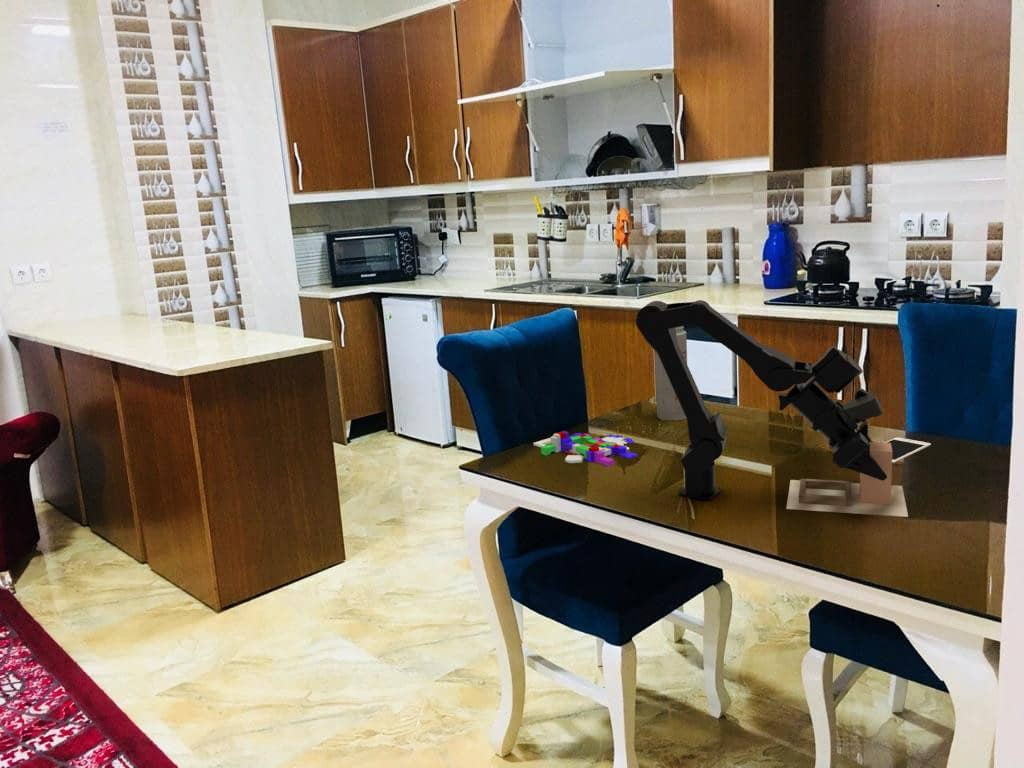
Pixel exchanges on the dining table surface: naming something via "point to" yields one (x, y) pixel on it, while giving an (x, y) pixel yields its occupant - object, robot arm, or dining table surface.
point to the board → (840, 498)
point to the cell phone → (905, 447)
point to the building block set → (587, 447)
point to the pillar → (875, 488)
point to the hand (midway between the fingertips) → (884, 470)
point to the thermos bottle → (669, 385)
